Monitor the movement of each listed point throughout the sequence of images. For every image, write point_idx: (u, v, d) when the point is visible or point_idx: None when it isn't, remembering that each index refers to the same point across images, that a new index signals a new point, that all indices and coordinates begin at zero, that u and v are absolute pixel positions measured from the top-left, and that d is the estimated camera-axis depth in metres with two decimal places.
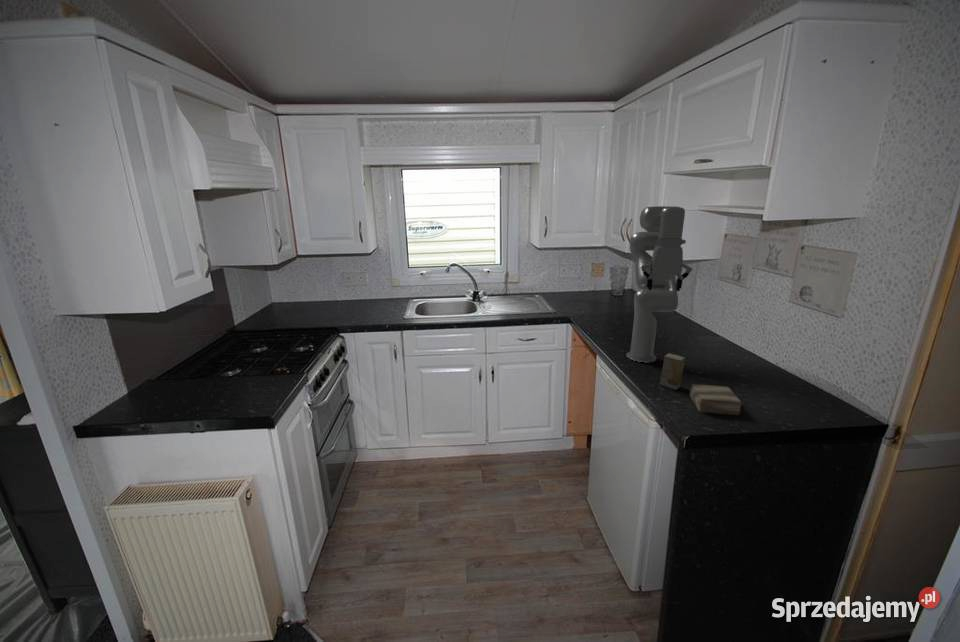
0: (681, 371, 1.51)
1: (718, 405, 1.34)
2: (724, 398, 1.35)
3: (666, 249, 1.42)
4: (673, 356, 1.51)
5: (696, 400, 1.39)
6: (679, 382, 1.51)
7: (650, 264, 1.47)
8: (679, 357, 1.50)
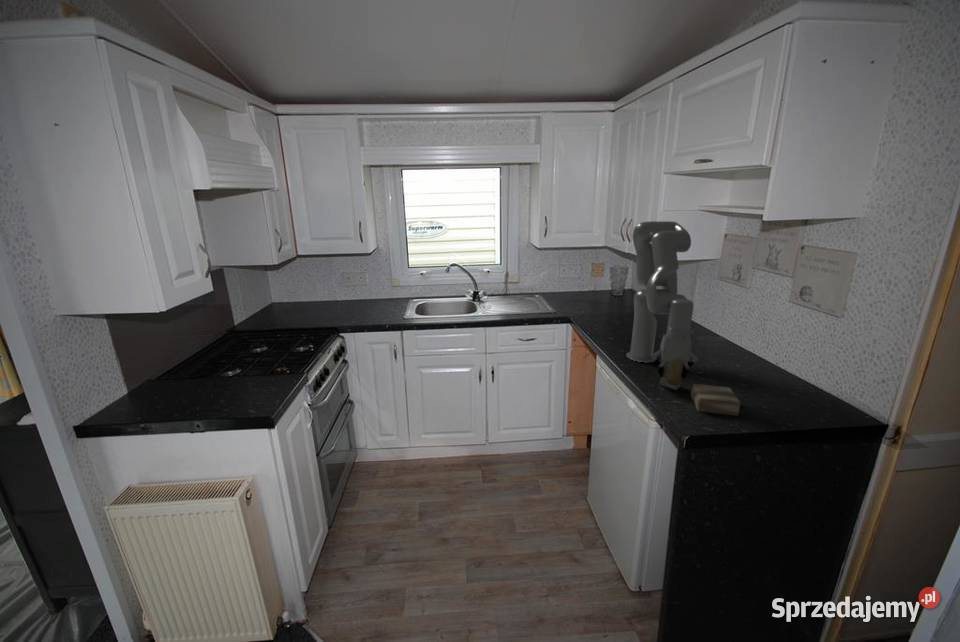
0: (681, 371, 1.50)
1: (717, 404, 1.34)
2: (723, 398, 1.35)
3: (675, 339, 1.47)
4: None
5: (696, 399, 1.39)
6: (679, 382, 1.51)
7: (659, 352, 1.51)
8: None
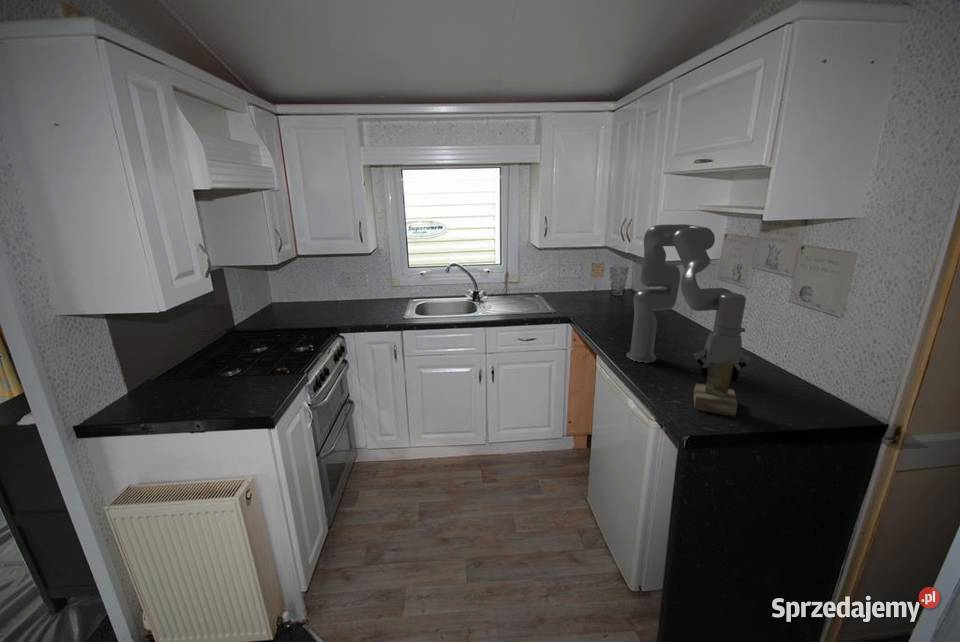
0: (730, 377, 1.35)
1: (713, 404, 1.34)
2: (721, 398, 1.35)
3: (724, 338, 1.31)
4: None
5: (694, 398, 1.41)
6: (727, 388, 1.36)
7: (704, 352, 1.35)
8: None
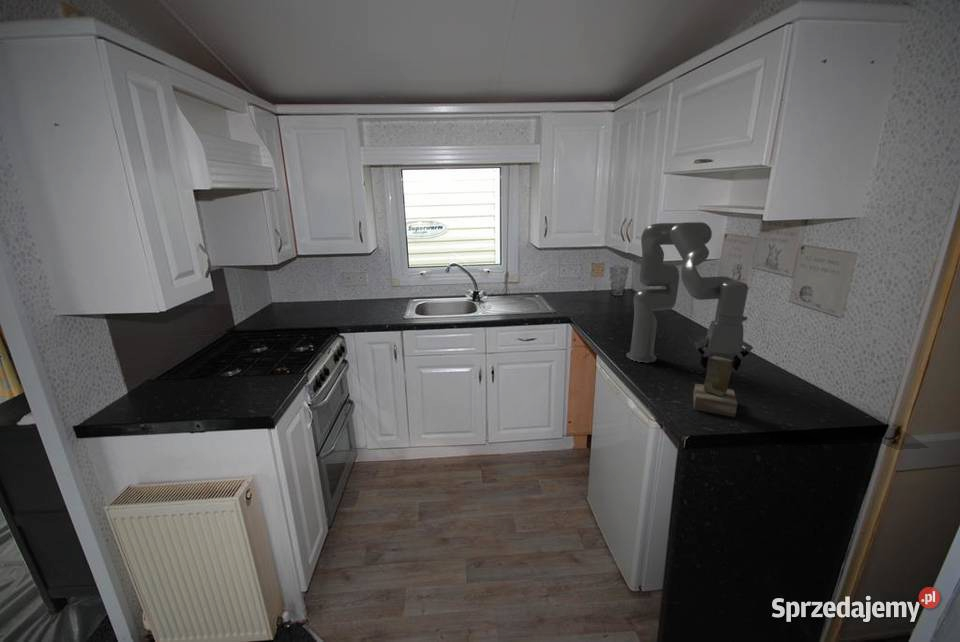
0: (728, 375, 1.35)
1: (713, 404, 1.34)
2: (721, 399, 1.34)
3: (725, 327, 1.30)
4: (720, 358, 1.36)
5: (694, 398, 1.40)
6: (725, 387, 1.36)
7: (706, 341, 1.34)
8: (727, 359, 1.35)
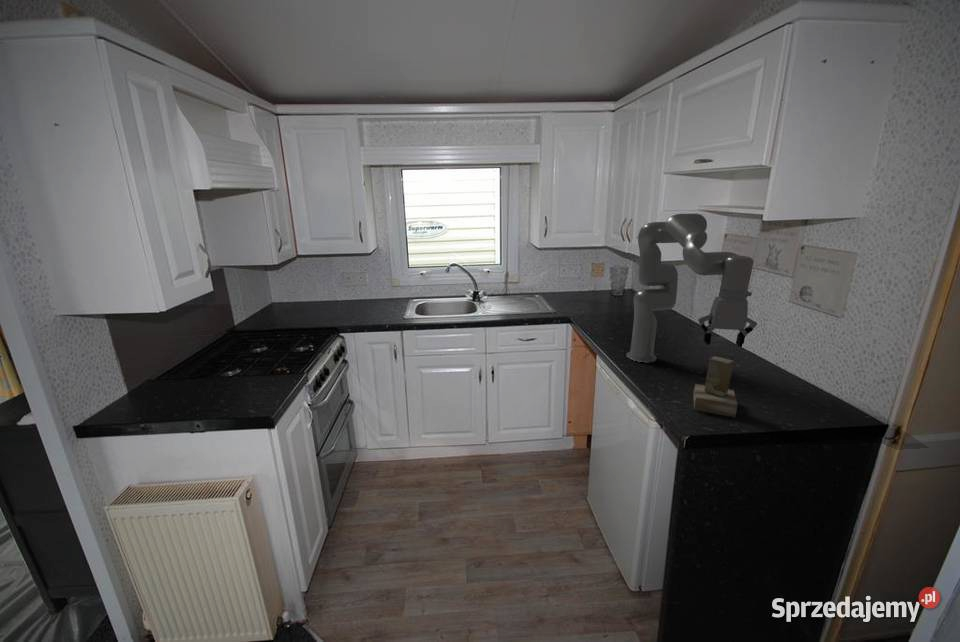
0: (729, 376, 1.35)
1: (713, 405, 1.34)
2: (721, 399, 1.34)
3: (729, 302, 1.27)
4: (720, 359, 1.36)
5: (694, 399, 1.40)
6: (726, 388, 1.36)
7: (709, 317, 1.32)
8: (727, 360, 1.35)
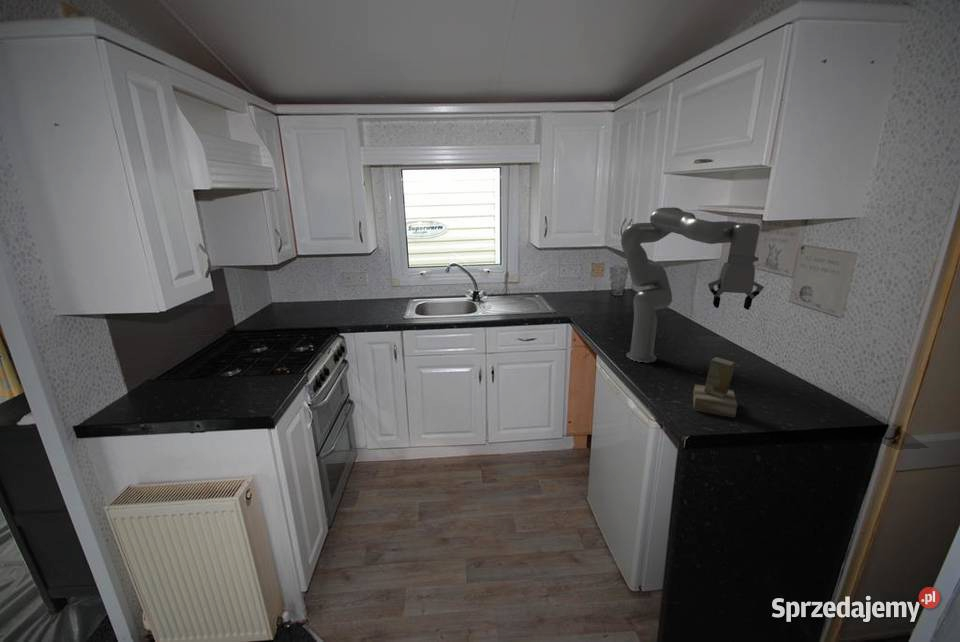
0: (730, 378, 1.34)
1: (713, 405, 1.33)
2: (721, 399, 1.34)
3: (737, 266, 1.37)
4: (721, 360, 1.34)
5: (694, 399, 1.40)
6: (726, 389, 1.35)
7: (718, 281, 1.41)
8: (729, 361, 1.34)
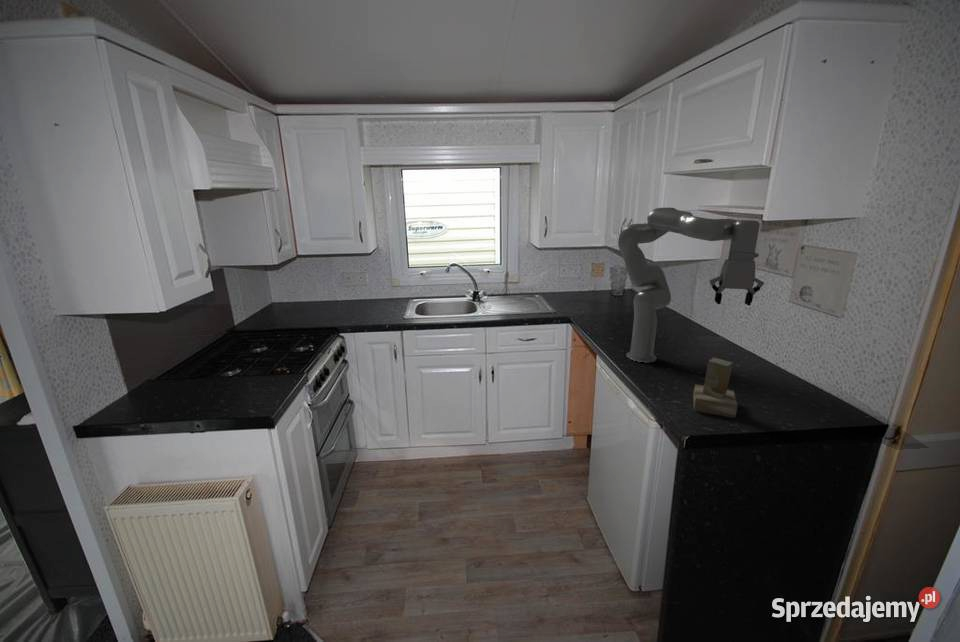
0: (728, 378, 1.34)
1: (713, 406, 1.33)
2: (721, 400, 1.34)
3: (738, 263, 1.39)
4: (719, 361, 1.34)
5: (694, 399, 1.40)
6: (725, 390, 1.35)
7: (720, 278, 1.43)
8: (726, 362, 1.34)
